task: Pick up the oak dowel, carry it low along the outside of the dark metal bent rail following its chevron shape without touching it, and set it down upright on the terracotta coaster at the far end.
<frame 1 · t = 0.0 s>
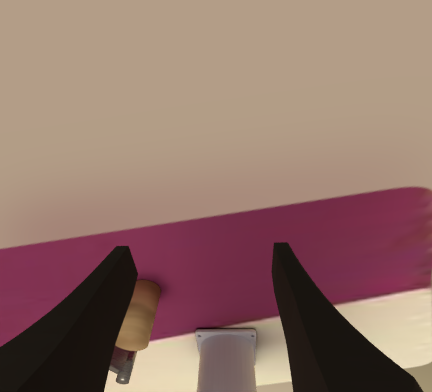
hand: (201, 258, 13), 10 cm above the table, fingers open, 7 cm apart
bent rail: (108, 315, 34), on the table
oak dowel: (145, 289, 31), on the table
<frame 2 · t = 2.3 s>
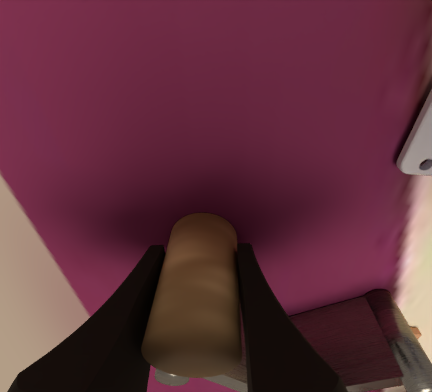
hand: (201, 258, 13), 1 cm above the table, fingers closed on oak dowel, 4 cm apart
bent rail: (275, 309, 18), on the table
oak dowel: (203, 238, 14), on the table, touching gripper
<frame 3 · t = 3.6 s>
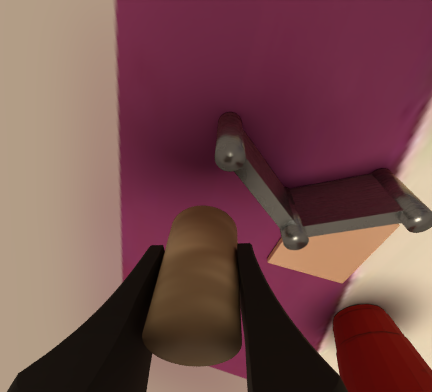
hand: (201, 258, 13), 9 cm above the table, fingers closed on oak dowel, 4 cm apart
plastic cup: (360, 317, 30), on the table
bent rail: (294, 174, 20), on the table
coaster: (327, 241, 24), on the table
oak dowel: (204, 232, 15), point 7 cm above the table, touching gripper
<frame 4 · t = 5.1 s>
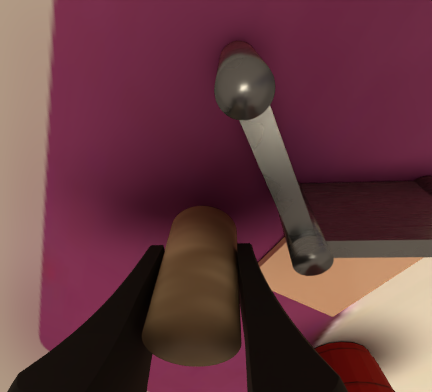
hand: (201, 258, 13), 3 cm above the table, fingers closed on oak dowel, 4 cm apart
plastic cup: (338, 355, 25), on the table
bent rail: (312, 164, 14), on the table
coaster: (329, 262, 18), on the table
oak dowel: (203, 232, 15), point 2 cm above the table, touching gripper
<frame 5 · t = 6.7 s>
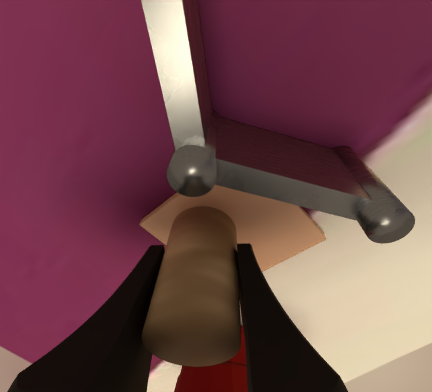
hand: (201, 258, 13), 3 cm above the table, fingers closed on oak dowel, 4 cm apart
plastic cup: (225, 338, 24), on the table
bent rail: (235, 94, 12), on the table
coaster: (233, 226, 16), on the table
oak dowel: (203, 232, 15), point 2 cm above the table, touching gripper
when the fingers open (3 cm above the table, at t = 7.9 s): oak dowel stays where it is, resting on coaster.
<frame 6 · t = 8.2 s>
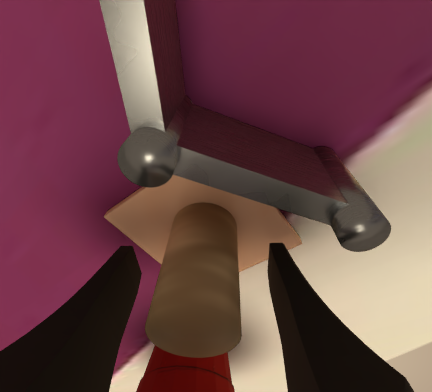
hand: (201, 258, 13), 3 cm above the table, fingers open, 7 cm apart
plastic cup: (194, 340, 23), on the table
bent rail: (211, 81, 11), on the table
coaster: (205, 224, 15), on the table
oak dowel: (204, 228, 15), point 1 cm above the table, touching coaster
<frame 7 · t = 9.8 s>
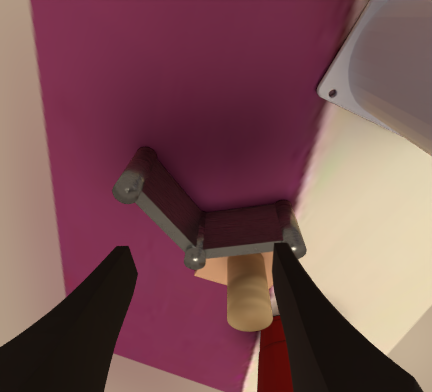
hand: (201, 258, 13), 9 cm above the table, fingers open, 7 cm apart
plastic cup: (285, 325, 33), on the table
bent rail: (208, 201, 23), on the table
coaster: (245, 258, 27), on the table
oak dowel: (245, 261, 26), point 1 cm above the table, touching coaster
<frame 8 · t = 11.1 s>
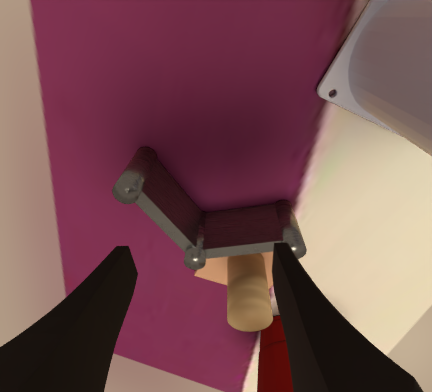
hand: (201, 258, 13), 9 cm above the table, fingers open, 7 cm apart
plastic cup: (285, 325, 33), on the table
bent rail: (208, 201, 23), on the table
coaster: (246, 258, 27), on the table
oak dowel: (245, 261, 26), point 1 cm above the table, touching coaster
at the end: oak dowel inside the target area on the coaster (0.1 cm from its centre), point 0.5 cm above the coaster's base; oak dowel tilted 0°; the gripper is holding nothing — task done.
